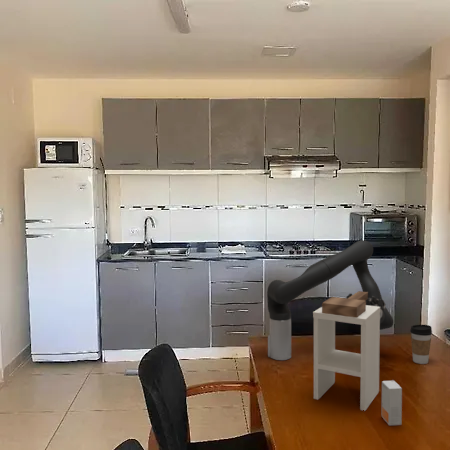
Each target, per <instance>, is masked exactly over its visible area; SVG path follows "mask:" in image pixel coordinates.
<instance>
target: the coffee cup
mask: <svg viewBox="0 0 450 450" xmlns="http://www.w3.org/2000/svg"><path fill="white" fill-rule="evenodd" d="M409 333H410V334H411V338H410V339H411V351H412V361H413V362H414V363H416V364H420V365H426V364H428V363H429V357H430V350H431V341H432V338H431V336H432V335H433V330H432V326H431V325H428V324H413V325H411V326H410V331H409Z"/></svg>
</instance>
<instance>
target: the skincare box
mask: <svg viewBox="0 0 450 450" xmlns="http://www.w3.org/2000/svg"><path fill="white" fill-rule="evenodd" d="M402 407H403V388H402V387H401V386H400V384H398V383H397V382H396V381H395V380H383V381H381V417H382V418H383V420H384V421H385V422H386V423H387V425H388V426H402V419H403V418H402V417H403V416H402V415H403V414H402V413H403V411H402V409H403V408H402Z"/></svg>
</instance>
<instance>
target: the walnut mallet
mask: <svg viewBox="0 0 450 450" xmlns="http://www.w3.org/2000/svg"><path fill="white" fill-rule="evenodd" d="M367 299H368V292H363V290H362V291H361V290H359V291H357V292H355V293H354V294H352V296H351V297H349V298H348V299H347V298H346V297H345V298H344V297H335V296H331V297H329V298H328V299H326V300H325V301H323V302H322V303H321V307H322V313H326V314H333V315H341V316H348V317H355V318H357V317H358V316H360V315H361V314H362V313H363V312H365V311H366V301H365V300H367Z"/></svg>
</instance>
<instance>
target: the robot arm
mask: <svg viewBox="0 0 450 450" xmlns="http://www.w3.org/2000/svg"><path fill="white" fill-rule="evenodd" d="M373 253H374V246H373V244H372V243H371V242H370V241H367V240H363V239H362V240H361V239H360V240H358V241H356V242H354V243H353V244H351V245H350V246H348V247H346V248H345V249H343V250H342V251H341V250H340V251H339V252H337V253H334V254H332V255H329V256H328V257H325V258H323V259H321V260H319V261H317V262H314V263H313V264H311V265H309V266H308V267H307V268H306V269H305V270H304V272H302V274H300V275H299V276H298V277H296V278H294V279H291V280H289V281H283V280H280V279H274V280H272V281H270V283H269V284H268V287H267V292H266V296H267V297H266V299H267V310H268V314H269V334H268V335H267V357H268V358H271V359H272V360H276V361H286V360H289V359H291V358H292V313H291V309H290V308H289V305H288V304H289V303H291V302H292V301H293V300H295V299H296V298H299V296H301V295H303V294H304V293H306V292H308V291H309V290H312V289H314V288H315V287H318V286H319V285H322V284H324V283H326V282H328V281H330V280H332V279H334V278H335V277H336V276H338V275H339V274H341V273H342V272H344V271H345V270H346V269H348V268H349V267H351V266H352V268H353V269H354V272H355V274H356V277H357V278H358V279H357V280H358V281H359V284H360V287H361V290H362V292H368V299H367V300H365V301H366V305H369V306H377V307H380V331H382V330H385V329H390V328H392V327H393V326H394V317H392V315H391V313H390V312H389V310H388V309H387V307H386V305H387V304H386V303H385V301H384V300H383V297H382V294H381V291H380V288H379V285H378V284H377V282H376V280H375V279H374V277H373V276H372V274H371V272H370V269H369V266H368V265H369V264H368V260H369V259H371V257H372V255H373ZM352 295H353V294H352V293H349V294H348V295H347V296H346V297H345V298H347V299H348V298H349V297H351V296H352Z"/></svg>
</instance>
